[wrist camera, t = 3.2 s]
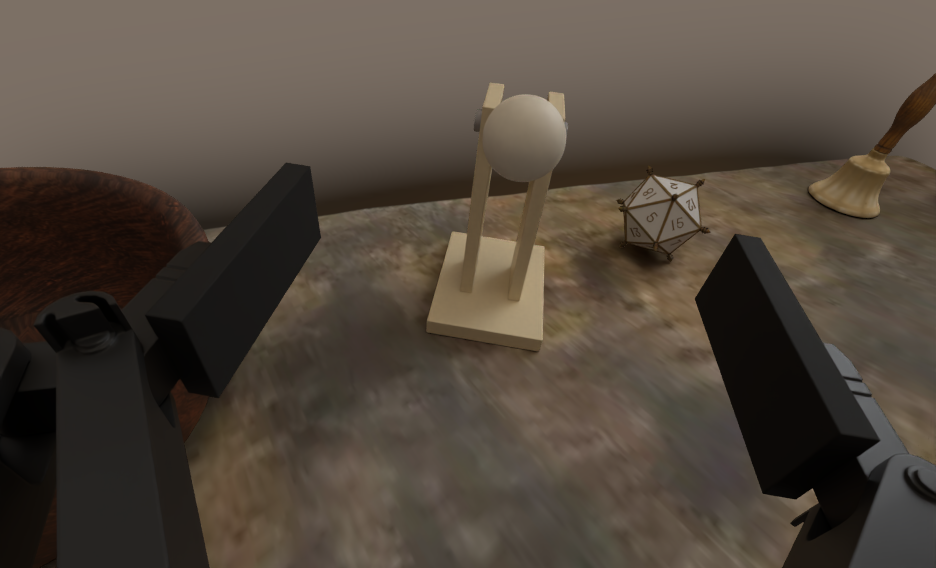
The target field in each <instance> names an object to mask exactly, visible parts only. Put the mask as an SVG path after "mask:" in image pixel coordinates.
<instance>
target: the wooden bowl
mask: <svg viewBox="0 0 936 568" xmlns="http://www.w3.org/2000/svg"><path fill="white" fill-rule="evenodd" d="M197 241H203V242H209V241H208V239H207V237H206V234H205V232H204V230H203V229H202V227H201V226H200V224H199V223H198V221H197V220H196V218H195V217H194V216H193V215H192V214H191V212H190V211H189V210H188V209H187V208H186V207H185V206H183V205H182V204H181V203H180V202H179V201H178V200H176V199H175V198H173V197H172V196H170V195H168V194H167V193H165V192H163V191H161V190H159V189H157V188H155V187H153V186H150V185H148V184H145V183H142V182H139V181H136V180H133V179H129V178H126V177H122V176H117V175H112V174H108V173H103V172H97V171H89V170H81V169H70V168H52V167H16V168H15V167H14V168H0V328H4V329H7V330H11V331H12V332H13V333H14V334H15V335H16V336H17V337H18V339H19V340H20V341H21V342H22V343H30V342H41V341H46V340H45V339H44V338H43V337H42V335H41V334H40V333H39V332H38V331H37V329H36V328H35V327H34V326H33V325H34V323H35V320H36V317H37V315H38V314H39V313H40V312H41V311H42V310H43V309H44V308H45V307H46V306H48V305H50V304H51V303H53V302H55V301H56V300H58V299H60V298H63V297H65V296H68V295H71V294H74V293H78V292H85V291H102V292H105V293H107V294H110V295H112V296H113V297H114V299H115V301H116V302H117V304H118V306H119V307H120V309H121V310H122V309H123V308H124V307H125V306H126V305H127V304H128V303H129V302H130V301H131V300H132V299H133V298H134V297H135V296H136V295H137V294H138V292H139V291H140V290H141V289H142V288H143V287H144V286H145V285H146V284H147V283H148V282H149V281H150V280H151V279H152V278H155V277H156V274H157V273H158V272H159V271H160V270H161V269H162V268H163V267H166V266H167V265H166V264H167V263H168V262H169V261H170V260H171V259H172V258H173V257H174V256H175V255H176V254H177V253H178V252H179V251H181V250H183V249H185V248H186V247H188V246H190V245H192V244H194V243H195V242H197ZM171 393H172V395H173V397H174V398H175V402H176V407H177V412H178V417H179V422H180V427H181V432H182V436H183V441H184V443H185V441H186V440H187V438H188V437H189V435H190V434H191V432H192V430H193V429H194V427H195V425H196V424H197V422H198V420H199V418H200V416H201V414H202V412H203V410H204V408H205V406H206V404H207V401H208V398H209V396H205V395H199V394H193V393H188V391H187V390H186V388H185V386H184V384H183V382H182V381H181V379H180V380H179V381H178V382H177V384H176V385H175V386H174V388H173V389H172V390H171ZM55 558H57V489H56V491H55V494H54V497H53V501H52V504H51V507H50V511H49V514H48V517H47V521H46V524H45V527H44V530H43V534H42V537H41V540H40V544H39V547H38V550H37V554H36V557H35V560H34V563H33V567H32V568H39V567H41V566H43V565H45V564H46V563H48V562H50V561H52V560H54V559H55Z"/></svg>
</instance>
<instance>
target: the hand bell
mask: <svg viewBox="0 0 936 568" xmlns="http://www.w3.org/2000/svg"><path fill="white" fill-rule="evenodd" d="M935 104H936V73H935V74H934V75H933V76H932V77H931V78H930V79H929V80H927V81H926V82H925V83H923V84H922V85H921V86H920V87H918V88H917V89H916V90H915V91H914V92H912V94H911V95H910V96H909V97H908V98H907V99H906V100H905V102H904V103H903V104H902V106H901V107H900V109H899V111H898V113H897V114H896V117H895V119H894V122H893V124H892V126H891V128H890V129H889V131H888V132H887V133H886V134H885V135H884V137H883V138H882V139H881V140H880V141H879V143H878V144H877V145H876V146H875V147H874V148H873V149H872V150H871V151H870V153H869V154H868V155H863V156H853V157H851V158H850V159H849V160H848V161H847V162H846V163H845V164H844V166H843V167H842V168H841V169H840V170H838V171H837V172H836V173H835V174H833V175H832V176H830V177H829V178H827V179H825V180H823V181H819V182H816V183H814V184H812V185H811V186H810V187H809V193H810V194H811V195H812V196H813V197H814V198H815V199H816V200H817V201H819V202H820V203H822V204H823V205H825V206H827V207H829V208H832V209H834V210H836V211H838V212H841V213H844V214H847V215H851V216H855V217H861V218H873V217H876V216H878V215H879V213H880V206H879V204H878V196H879V192H880V189H881V187H882V185H883V183H884V181H885V180H886V178H887V177H888V175H889V174H890V168H889V167H888V166H887V165H886V163H885V162H884V160H885V158H886V157H887V155H888V153H890V152H891V151H892V148H894V147H895V146H896V144H897V143H898V141H899V140H900V139H901V137H902V136H903V135H904V134H905V133H906V132H907V131H908V130H909V129H910V128H911V127H913V126H914V125H916V124H917V123H918V122H919V121H921V120H922V119H923V118H924V117H925V116H926V115H927V114H928V113H929V111H930V110H931V109H932V108H933V106H934V105H935Z"/></svg>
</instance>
